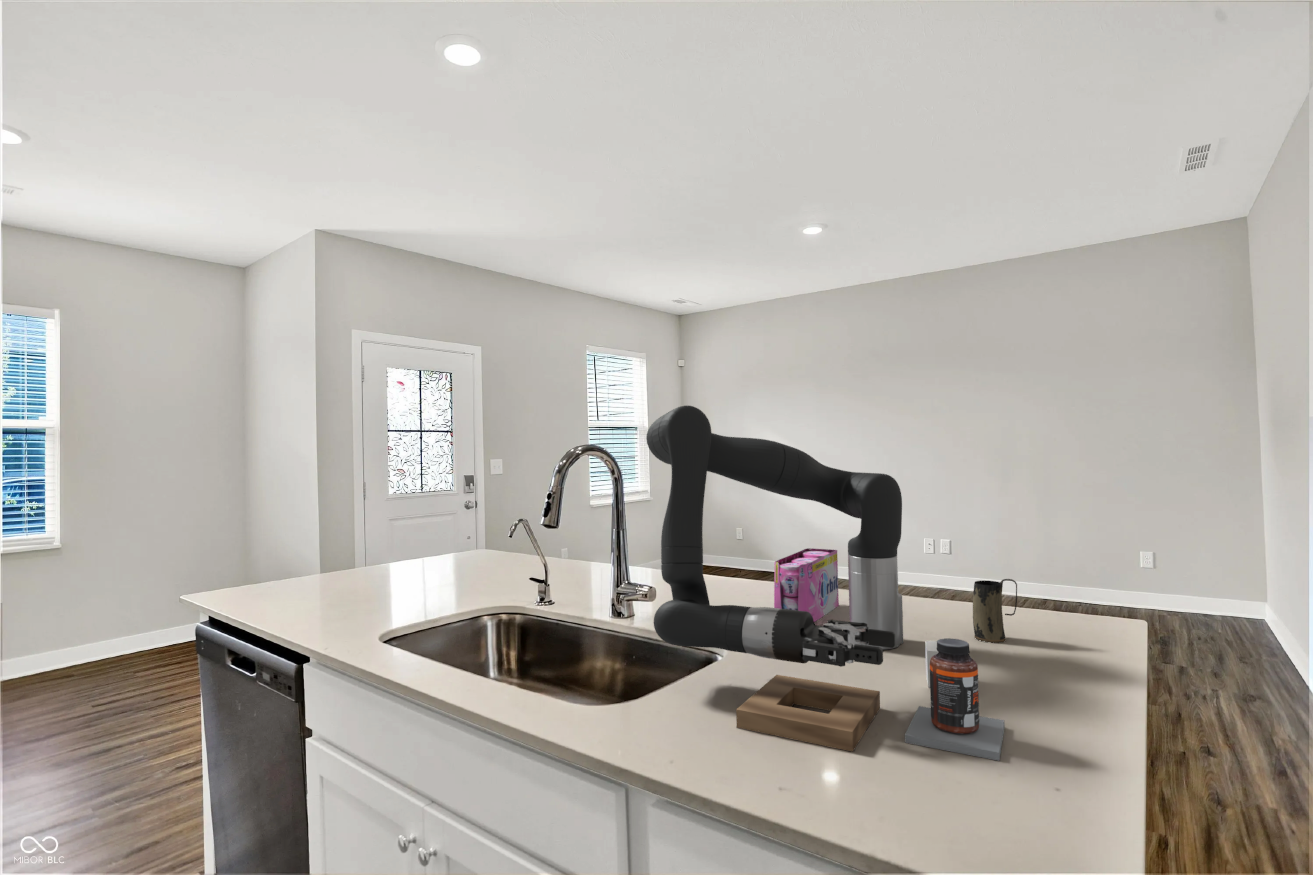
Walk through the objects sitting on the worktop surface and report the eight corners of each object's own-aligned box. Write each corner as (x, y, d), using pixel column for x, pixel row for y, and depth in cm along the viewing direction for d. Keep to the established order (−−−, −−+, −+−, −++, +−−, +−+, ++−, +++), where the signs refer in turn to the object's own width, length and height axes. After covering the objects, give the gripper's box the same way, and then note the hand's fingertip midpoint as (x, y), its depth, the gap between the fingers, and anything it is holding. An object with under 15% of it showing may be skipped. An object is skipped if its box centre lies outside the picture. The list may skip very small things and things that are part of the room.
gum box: (805, 629, 143) (804, 565, 143) (770, 624, 147) (769, 562, 147) (839, 605, 163) (838, 549, 163) (808, 602, 167) (806, 547, 167)
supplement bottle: (985, 737, 87) (982, 649, 87) (936, 734, 88) (933, 647, 88) (973, 718, 92) (970, 636, 93) (927, 716, 94) (925, 634, 94)
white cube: (928, 688, 107) (927, 650, 107) (926, 676, 113) (924, 640, 113) (969, 692, 105) (968, 653, 106) (965, 679, 111) (963, 642, 111)
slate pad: (919, 712, 97) (919, 705, 97) (1004, 727, 92) (1004, 720, 92) (905, 742, 88) (904, 734, 88) (999, 760, 82) (999, 752, 82)
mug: (972, 640, 132) (971, 579, 132) (974, 633, 137) (972, 574, 137) (1018, 645, 128) (1016, 582, 128) (1018, 638, 133) (1017, 577, 133)
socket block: (776, 690, 108) (776, 674, 108) (880, 708, 99) (879, 691, 100) (736, 727, 94) (736, 709, 94) (852, 751, 86) (852, 731, 86)
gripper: (760, 619, 96) (877, 633, 88) (793, 599, 109) (898, 609, 101) (761, 672, 96) (879, 691, 88) (794, 645, 109) (899, 660, 100)
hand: (889, 647), depth 94 cm, fingers open, 8 cm apart
